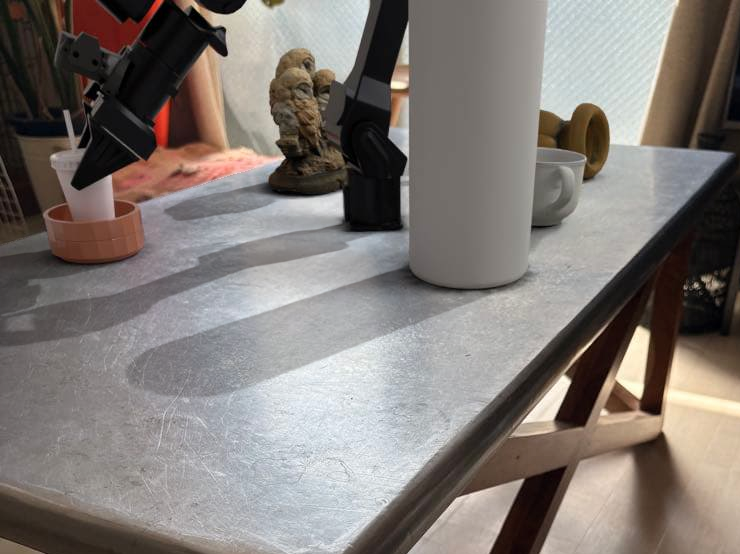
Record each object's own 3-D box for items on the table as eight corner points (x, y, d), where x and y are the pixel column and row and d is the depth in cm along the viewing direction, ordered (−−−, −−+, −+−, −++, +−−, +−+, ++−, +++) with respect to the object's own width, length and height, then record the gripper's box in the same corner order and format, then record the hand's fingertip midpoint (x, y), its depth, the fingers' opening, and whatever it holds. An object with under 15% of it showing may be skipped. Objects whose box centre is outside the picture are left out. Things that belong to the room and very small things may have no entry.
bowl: (150, 237, 104) (144, 197, 101) (140, 263, 96) (133, 221, 93) (62, 240, 103) (53, 200, 100) (44, 267, 95) (33, 224, 92)
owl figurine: (331, 200, 118) (324, 56, 108) (250, 195, 120) (236, 54, 111) (370, 171, 132) (367, 41, 122) (297, 167, 134) (288, 40, 125)
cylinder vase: (510, 297, 86) (529, -1, 72) (392, 283, 90) (387, -3, 76) (539, 260, 96) (561, -9, 82) (431, 249, 99) (434, -11, 85)
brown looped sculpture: (488, 101, 139) (618, 87, 127) (482, 188, 142) (608, 183, 130) (420, 73, 125) (559, 54, 112) (415, 171, 128) (550, 162, 115)
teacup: (486, 210, 113) (489, 143, 109) (568, 208, 114) (574, 141, 109) (505, 241, 102) (509, 168, 97) (597, 238, 103) (605, 166, 98)
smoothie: (59, 247, 99) (25, 111, 91) (107, 234, 103) (79, 102, 95) (93, 258, 95) (61, 117, 87) (141, 243, 99) (115, 107, 91)
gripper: (86, -8, 94) (4, 113, 97) (97, 2, 79) (0, 143, 82) (172, 71, 100) (92, 181, 104) (197, 94, 86) (104, 221, 89)
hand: (73, 180), depth 95 cm, fingers closed on smoothie, 6 cm apart
